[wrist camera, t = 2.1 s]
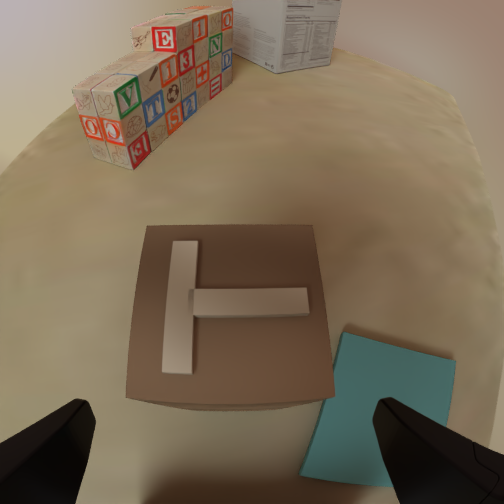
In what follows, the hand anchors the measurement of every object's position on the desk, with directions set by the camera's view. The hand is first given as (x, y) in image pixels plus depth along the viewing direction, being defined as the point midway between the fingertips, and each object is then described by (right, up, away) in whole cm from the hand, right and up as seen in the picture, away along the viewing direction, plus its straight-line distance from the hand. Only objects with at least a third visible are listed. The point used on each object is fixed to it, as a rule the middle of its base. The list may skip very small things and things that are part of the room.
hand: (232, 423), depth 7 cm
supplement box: (+6, +40, +37) cm, 54 cm away
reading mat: (+10, -6, +9) cm, 14 cm away
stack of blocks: (-9, +22, +25) cm, 35 cm away
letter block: (-1, -3, +10) cm, 11 cm away
